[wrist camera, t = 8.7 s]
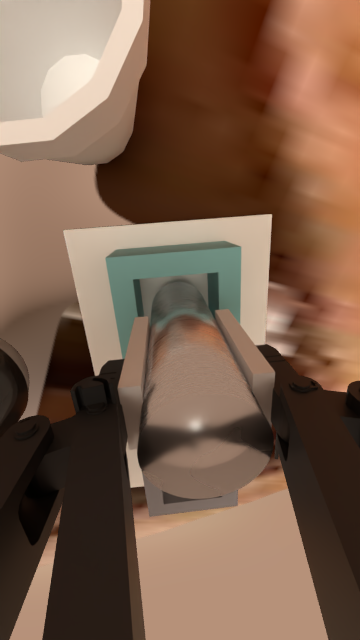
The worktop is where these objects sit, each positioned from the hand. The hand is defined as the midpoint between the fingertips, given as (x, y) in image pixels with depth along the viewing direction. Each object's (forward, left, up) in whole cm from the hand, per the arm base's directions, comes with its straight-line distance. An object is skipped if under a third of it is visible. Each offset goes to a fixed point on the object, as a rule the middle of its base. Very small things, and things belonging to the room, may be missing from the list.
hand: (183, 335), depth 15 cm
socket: (0, 0, -8) cm, 8 cm away
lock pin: (0, 0, -5) cm, 5 cm away
